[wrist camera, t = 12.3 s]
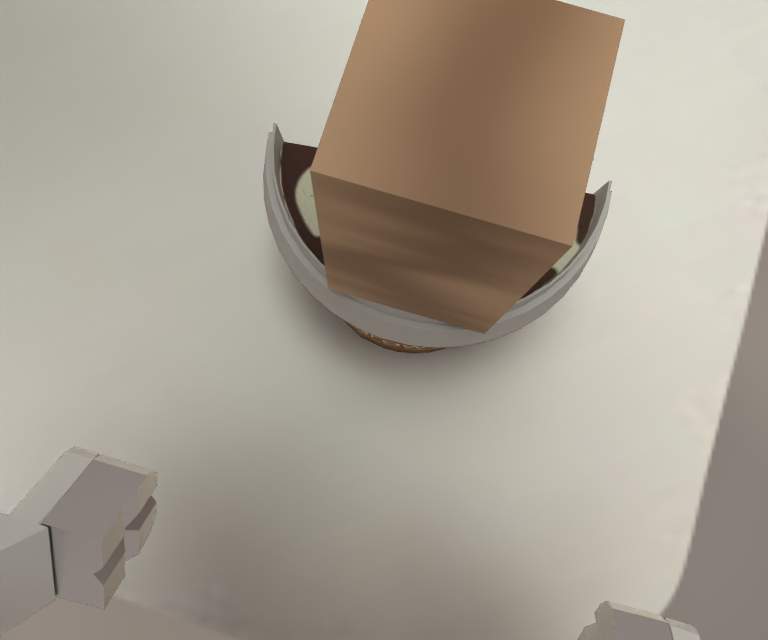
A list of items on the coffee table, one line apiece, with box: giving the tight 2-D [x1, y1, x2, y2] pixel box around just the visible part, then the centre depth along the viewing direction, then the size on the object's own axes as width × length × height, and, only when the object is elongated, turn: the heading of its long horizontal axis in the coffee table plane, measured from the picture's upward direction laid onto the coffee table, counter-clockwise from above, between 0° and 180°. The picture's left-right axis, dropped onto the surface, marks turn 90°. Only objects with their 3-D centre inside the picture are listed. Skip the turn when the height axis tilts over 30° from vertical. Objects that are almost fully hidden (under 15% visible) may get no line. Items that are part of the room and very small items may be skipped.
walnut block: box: [310, 0, 625, 334], centre depth 16 cm, size 5×5×8 cm
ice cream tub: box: [263, 123, 612, 353], centre depth 25 cm, size 12×6×10 cm, turn 81°
